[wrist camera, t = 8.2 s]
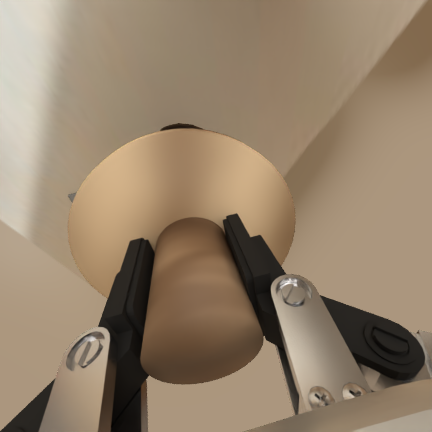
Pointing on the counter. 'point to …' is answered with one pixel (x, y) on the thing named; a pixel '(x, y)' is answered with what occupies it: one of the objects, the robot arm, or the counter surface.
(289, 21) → the counter surface
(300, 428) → the robot arm
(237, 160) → the lid
